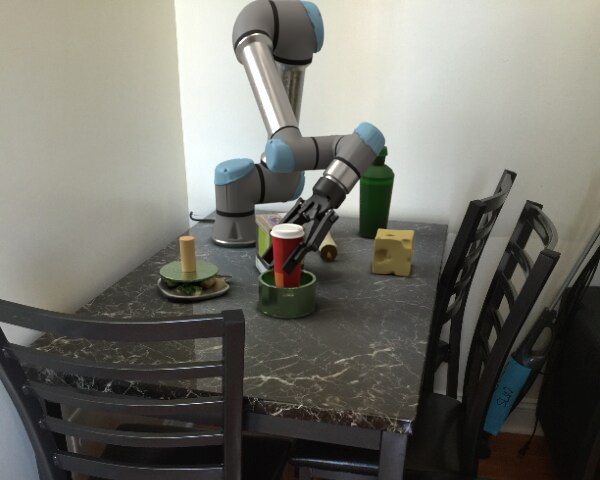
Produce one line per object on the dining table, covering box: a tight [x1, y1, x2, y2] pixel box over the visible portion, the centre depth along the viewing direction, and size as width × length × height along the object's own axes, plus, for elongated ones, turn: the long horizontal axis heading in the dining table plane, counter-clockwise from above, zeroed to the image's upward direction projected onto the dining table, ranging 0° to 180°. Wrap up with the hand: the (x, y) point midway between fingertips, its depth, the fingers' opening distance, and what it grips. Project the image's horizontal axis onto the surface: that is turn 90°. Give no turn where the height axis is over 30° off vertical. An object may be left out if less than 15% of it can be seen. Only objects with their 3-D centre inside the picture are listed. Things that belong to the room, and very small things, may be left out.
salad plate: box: [156, 273, 233, 303], centre depth 164 cm, size 19×18×5 cm
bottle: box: [358, 145, 395, 239], centre depth 200 cm, size 11×11×28 cm
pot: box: [258, 269, 317, 320], centre depth 154 cm, size 13×19×8 cm
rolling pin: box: [318, 231, 339, 263], centre depth 194 cm, size 32×6×5 cm, turn 4°
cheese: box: [372, 228, 415, 277], centre depth 178 cm, size 10×11×10 cm
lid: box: [159, 235, 219, 282], centre depth 160 cm, size 14×14×9 cm
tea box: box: [255, 212, 306, 274], centre depth 171 cm, size 15×10×15 cm
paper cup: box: [270, 224, 306, 287], centre depth 150 cm, size 8×8×14 cm
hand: (275, 266), depth 149 cm, fingers closed on paper cup, 8 cm apart
